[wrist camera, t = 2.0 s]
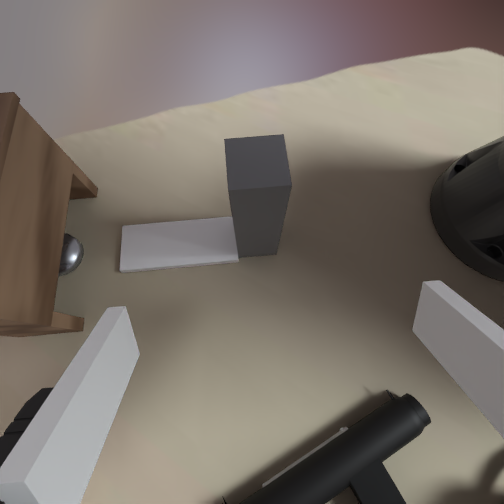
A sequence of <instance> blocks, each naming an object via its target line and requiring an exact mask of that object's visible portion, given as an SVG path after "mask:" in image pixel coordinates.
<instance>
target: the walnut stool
mask: <svg viewBox="0 0 504 504" xmlns="http://www.w3.org/2000/svg"><path fill="white" fill-rule="evenodd" d="M19 102H20V98H19V97H18V96H17V95H16V94H15V93H14V92H9V93H0V336H12V337H25V336H36V335H46V334H57V333H67V332H78V331H83V324H84V318H80V317H76V316H71V315H67V314H62V313H58V312H53V309H54V302H55V295H56V288H57V281H58V274H59V267H60V260H61V253H62V246H63V239H64V232H65V225H66V218H67V211H68V204H69V199H81V198H93V197H97V190H98V188H97V187H96V186H95V185H94V184H93V182H92V181H91V180H90V179H89V178H88V177H87V176H86V175H85V174H84V173H83V172H82V171H81V170H80V168H79V167H78V166H77V165H76V164H75V163H74V162H73V161H72V160H71V159H70V158H69V157H68V156H67V154H66V153H65V152H64V151H63V150H62V149H61V148H60V147H59V146H58V145H57V144H56V143H55V141H54V140H53V139H52V138H51V137H50V136H49V135H48V134H47V133H46V132H45V131H44V130H43V129H42V127H41V126H40V125H39V124H38V123H37V122H36V121H35V120H34V119H33V118H32V117H31V116H30V115H29V113H28V112H27V111H26V110H25V109H24V108H23V107H22V106H21V105H20V104H19Z"/></svg>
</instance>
